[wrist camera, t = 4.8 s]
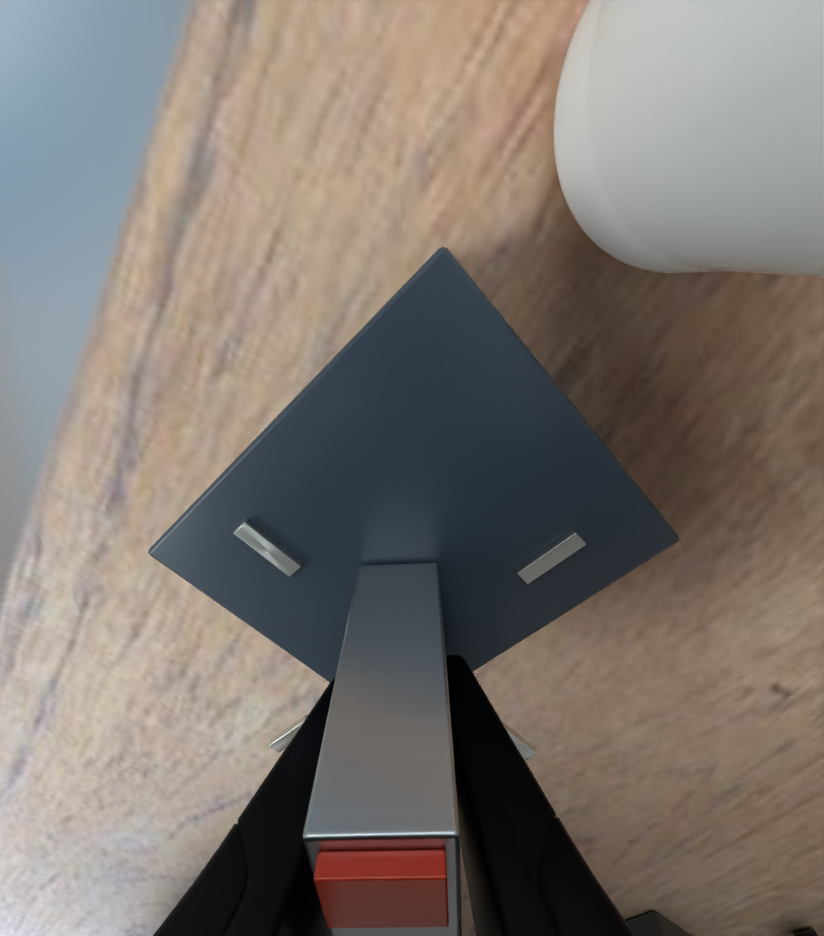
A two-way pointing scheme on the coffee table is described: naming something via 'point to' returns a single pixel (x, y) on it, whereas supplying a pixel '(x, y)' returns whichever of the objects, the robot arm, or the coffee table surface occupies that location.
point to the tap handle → (388, 767)
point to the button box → (654, 926)
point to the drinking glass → (696, 134)
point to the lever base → (419, 489)
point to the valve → (806, 933)
